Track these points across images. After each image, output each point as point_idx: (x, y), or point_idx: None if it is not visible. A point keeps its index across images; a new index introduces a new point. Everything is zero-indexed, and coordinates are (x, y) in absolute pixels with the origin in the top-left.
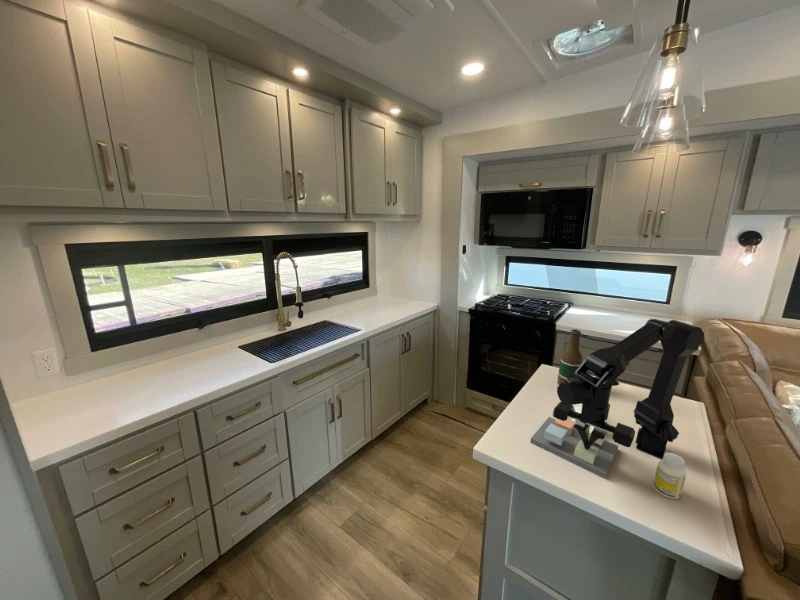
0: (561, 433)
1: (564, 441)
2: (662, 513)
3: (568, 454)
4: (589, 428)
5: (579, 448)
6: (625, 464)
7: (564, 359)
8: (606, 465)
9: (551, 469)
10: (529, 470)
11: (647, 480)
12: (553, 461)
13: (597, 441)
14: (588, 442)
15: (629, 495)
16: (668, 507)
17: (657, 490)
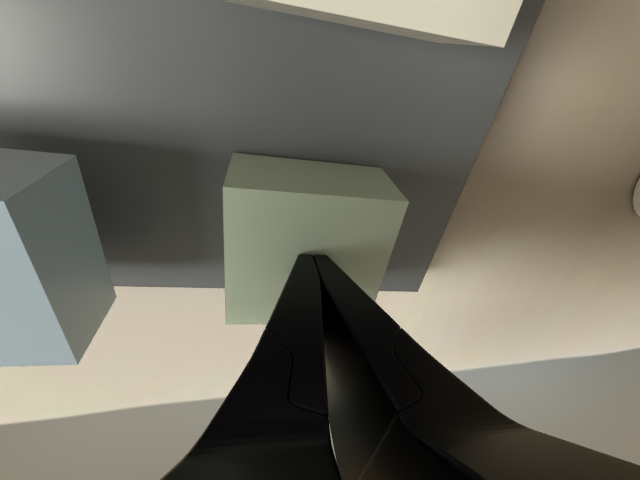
0: (8, 308)
1: (90, 139)
2: (575, 304)
3: (199, 275)
4: (331, 450)
5: (255, 305)
6: (565, 53)
7: None
8: (430, 224)
9: (175, 357)
10: (108, 407)
11: (631, 145)
12: (153, 313)
13: (404, 34)
14: (328, 401)
15: (487, 296)
16: (619, 267)
17: (638, 211)
